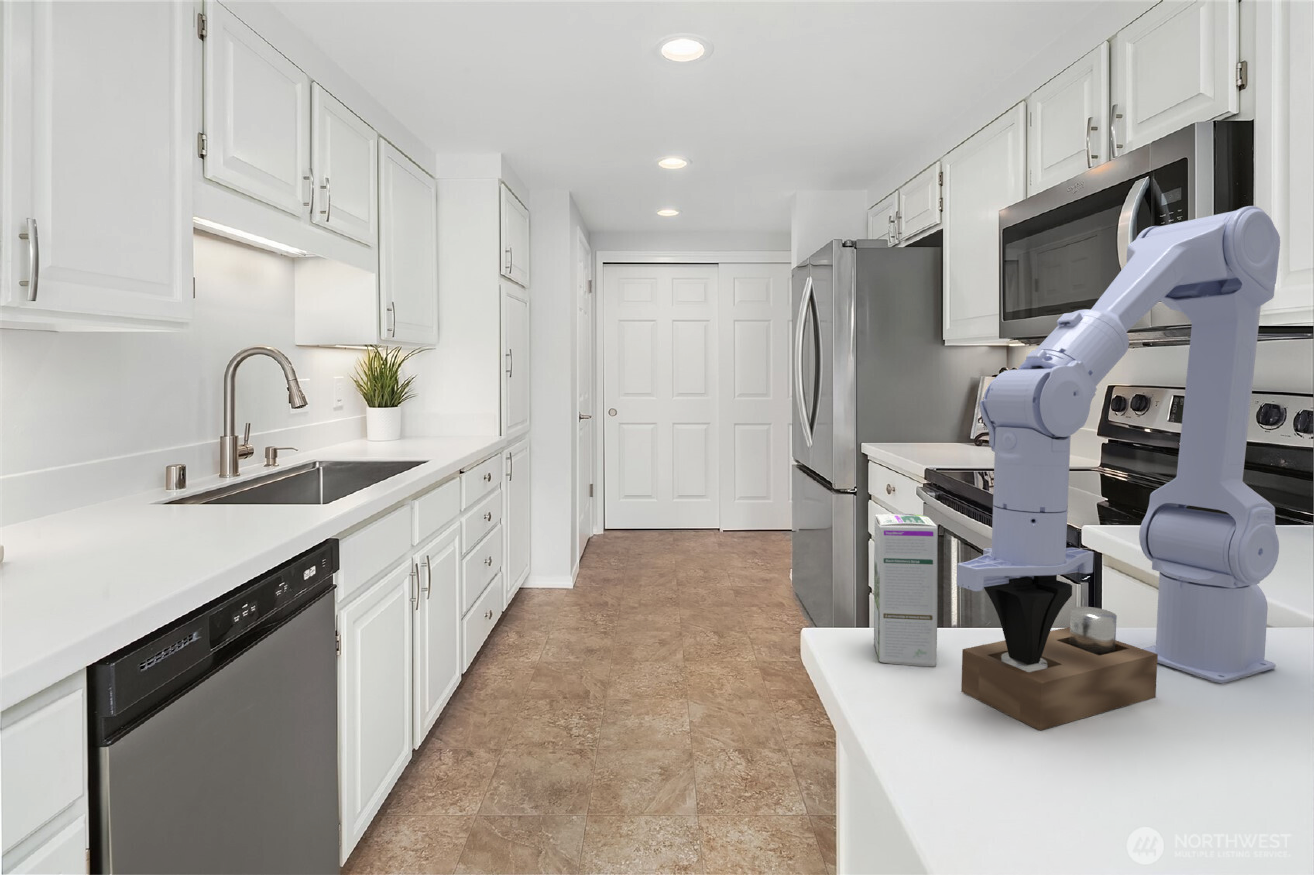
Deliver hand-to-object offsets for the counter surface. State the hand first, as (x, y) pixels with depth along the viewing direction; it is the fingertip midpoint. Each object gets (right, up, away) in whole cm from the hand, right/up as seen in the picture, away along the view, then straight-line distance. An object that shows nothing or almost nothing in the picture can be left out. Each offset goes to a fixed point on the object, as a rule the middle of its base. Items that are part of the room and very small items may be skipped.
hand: (1023, 660), depth 61 cm
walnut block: (+4, -4, +2) cm, 6 cm away
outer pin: (0, -4, 0) cm, 4 cm away
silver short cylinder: (+8, -1, +4) cm, 9 cm away
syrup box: (-7, -3, +12) cm, 14 cm away
